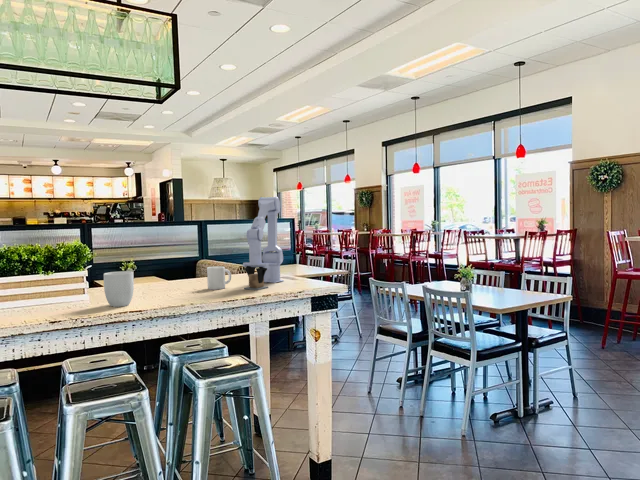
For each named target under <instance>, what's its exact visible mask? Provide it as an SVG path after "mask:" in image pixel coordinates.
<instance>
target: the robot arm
mask: <svg viewBox="0 0 640 480" xmlns="http://www.w3.org/2000/svg"><path fill="white" fill-rule="evenodd" d="M257 202H258V208H259V210H258V213H257V216H256V217H255V218H254V219H253V221H252V224H251V226H250V228H249V229H248V230H247V231H246V239H247V244H248V252H249V254H248V256H249V260H248V261H249V262H243V263H242V266H243V267H244V270H245V272H246V274H247V277H248V278H249V274H255V272H256V273H257V274H258V282H259V283H262V282H263V278H264V283H274V284H275V283H280V282H284V281H285V280H284V279H281V265H282V263H283V261H284V254H283V249H282V248H281V247H280V246H278V214H279V213H280V212H281V201H280V198H279V197H278V196H269V197H268V196H264V197H262V196H261V197H259V198H258V201H257ZM266 217H267V246H266V247H265V248H264V249H263V251H262V241H263V238H264V228H265V226H266V220H265V219H266Z"/></svg>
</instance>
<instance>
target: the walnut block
mask: <svg viewBox="0 0 640 480" xmlns="http://www.w3.org/2000/svg"><path fill="white" fill-rule="evenodd" d="M264 286H265V282H264V278H263V282H262V283H259V282H258V274H257V272H256V273H254V274H249V277H248V287H252V288H259V287H264Z"/></svg>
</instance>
